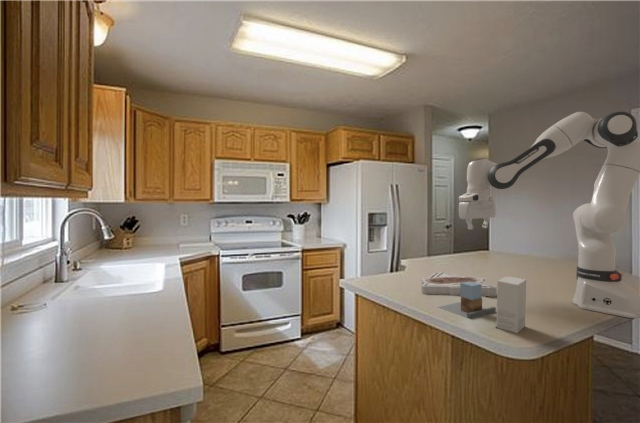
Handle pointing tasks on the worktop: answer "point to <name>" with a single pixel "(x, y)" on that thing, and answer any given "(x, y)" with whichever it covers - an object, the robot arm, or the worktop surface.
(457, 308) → the grey flat square slab
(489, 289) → the decorative sign
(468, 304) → the walnut block
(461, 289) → the blue block
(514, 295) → the skincare box
